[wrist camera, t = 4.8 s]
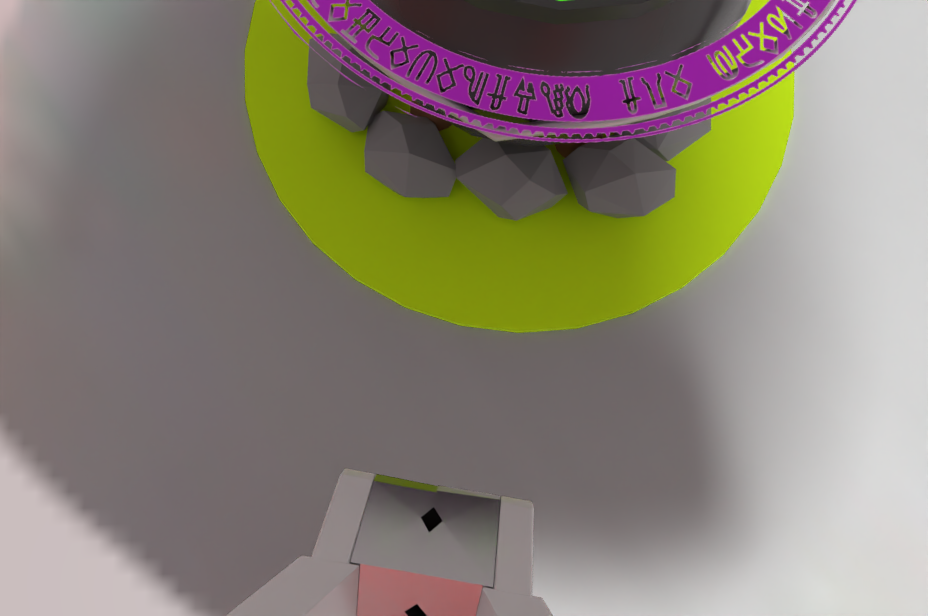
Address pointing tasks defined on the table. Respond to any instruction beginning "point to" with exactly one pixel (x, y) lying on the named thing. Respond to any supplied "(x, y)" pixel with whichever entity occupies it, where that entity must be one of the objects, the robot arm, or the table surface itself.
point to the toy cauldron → (525, 143)
